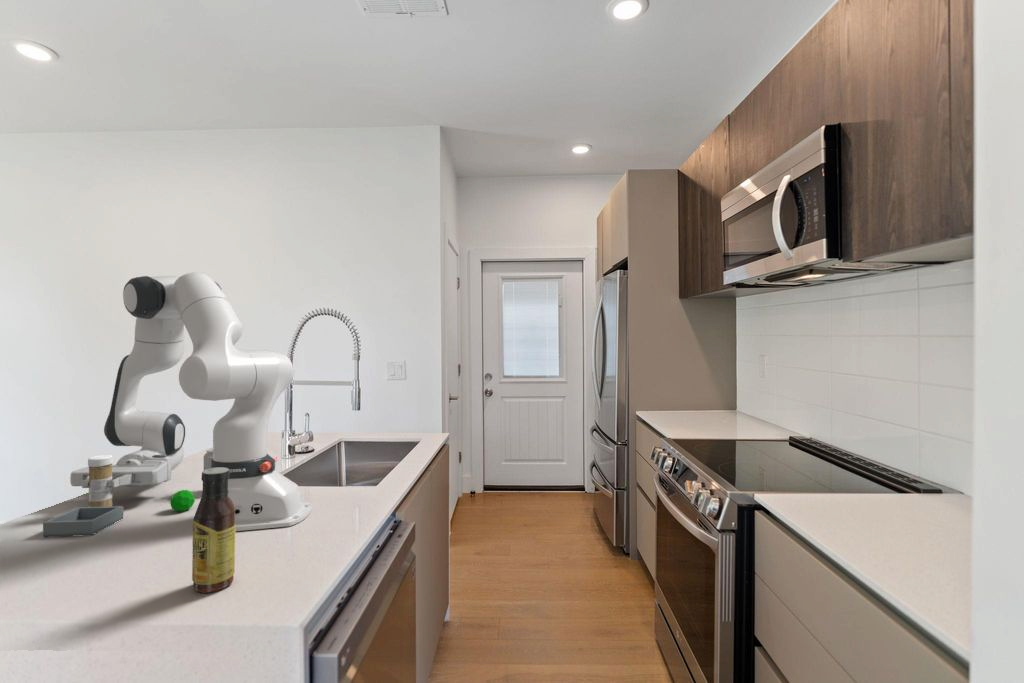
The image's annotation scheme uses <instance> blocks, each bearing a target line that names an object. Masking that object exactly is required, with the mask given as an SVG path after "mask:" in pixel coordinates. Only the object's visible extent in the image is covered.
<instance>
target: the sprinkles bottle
mask: <svg viewBox="0 0 1024 683" xmlns="http://www.w3.org/2000/svg"><path fill="white" fill-rule="evenodd" d="M113 457H114V456H113V455H112V454H99V455H95V456H91V457H89V458H88V459H87V467H89V488H88V505H89V506H88V507H110V506H113V488H114V487H108V480H111V479H112V465H113V463H114V459H113Z"/></svg>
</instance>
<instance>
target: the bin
mask: <svg viewBox="0 0 1024 683" xmlns="http://www.w3.org/2000/svg"><path fill="white" fill-rule="evenodd" d="M121 519H123V520H124V506H123V505H121V506H119V505H117V506H113V505H112V506H110V507H89V506H78V507H76V508H74V509H71V510H69V511H66V512H64V513H62V514H60V515H57V516H55V517H52V518H51V519H49V520H46V521H44V522H43V524H42V535H43V536H60V537H74V536H73V535H92V536H94V535H95V534H94V533H96V534H98V533H99V532H98V531H100V530H102V529H104V528H106V527H108V526H109V527H111V526H113V525H115V524H116V523H115V522H117V521H119V520H121ZM121 521H122V520H121ZM119 522H120V521H119ZM114 523H115V524H114ZM117 523H118V522H117ZM112 524H113V525H112ZM110 525H111V526H110ZM109 527H108V528H109ZM106 529H107V528H106ZM104 530H105V529H104ZM102 531H103V530H102ZM97 532H98V533H97ZM100 532H101V531H100ZM93 534H94V535H93ZM43 536H42V537H43Z"/></svg>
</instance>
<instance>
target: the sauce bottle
mask: <svg viewBox="0 0 1024 683" xmlns="http://www.w3.org/2000/svg"><path fill="white" fill-rule="evenodd" d="M228 478H229V469H228V468H225V467H216V468H210V469H206V470H204V469H203V471H202V472H201V481H202V493H201V497H200V501H199V502H198V506H197V508H196V511H195V513H194V516H193V519H192V552H191V553H192V560H191V561H192V564H191V565H192V570H191V571H192V572H191V574H192V576H191V579H192V580H191V581H192V583H193V585H192V586H193V587H192V588H193V590H194V591H195V592H198V593H201V594H208V593H213V592H217V591H220V590H223V589H225V588H227V587H229V586H230V585H232V583H233V581H234V575H235V570H236V569H235V568H236V567H235V564H236V562H235V561H236V531H235V527H236V523H235V506H234V504H233V502H232V500H231V499H230V498H229V497H228V493H229V491H228Z"/></svg>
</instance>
